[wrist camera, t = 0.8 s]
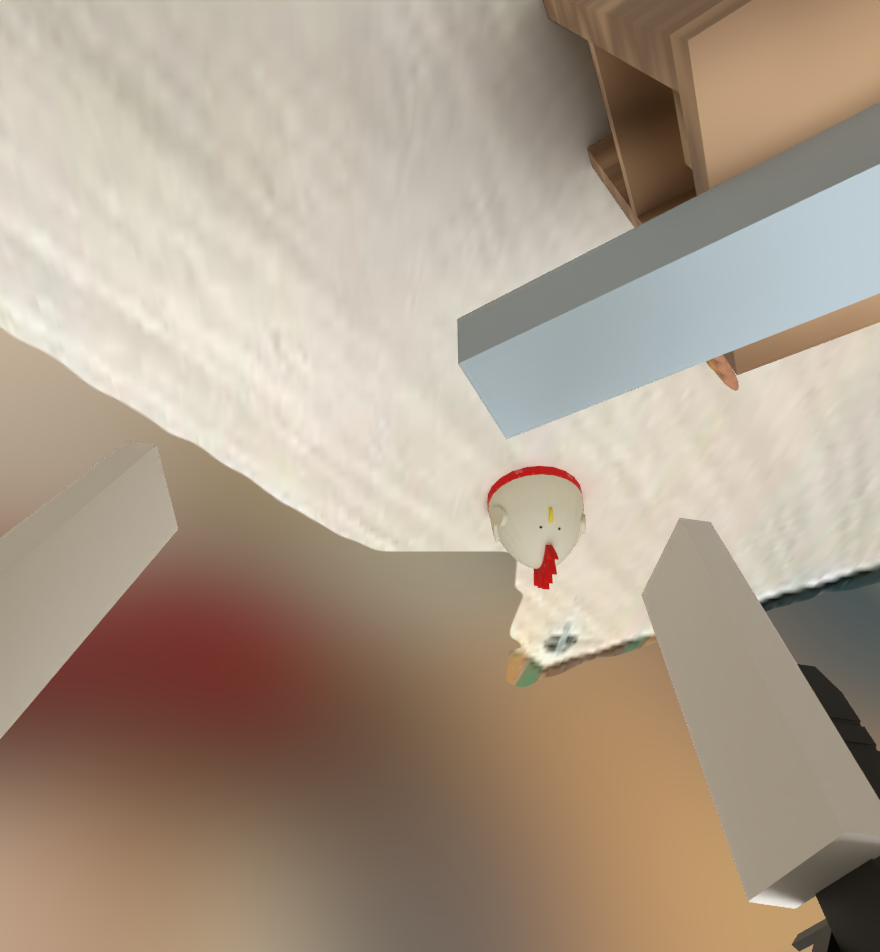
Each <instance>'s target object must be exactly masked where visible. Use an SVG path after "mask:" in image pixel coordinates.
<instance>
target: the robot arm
mask: <svg viewBox="0 0 880 952" xmlns="http://www.w3.org/2000/svg"><path fill="white" fill-rule="evenodd" d="M177 530H178V526H177V523H176V519H175V515H174V511H173V508H172V504H171V499H170V495H169V492H168V487H167V484H166V480H165V476H164V472H163V468H162V464H161V460H160V456H159V453H158V449H157V445H152V444H146V443H138V442H131V441H126V442H124V443H123V444H122V445H121V446H119V447H118V448H117V449H115V450H114V451H113V452H111V453H110V454H109V455H108V456H106V457H105V458H104V459H102V460H101V461H100V462H98V463H97V464H96V465H95V466H93V467H92V468H91V469H89V470H88V471H87V472H85V473H84V474H83V475H82V476H80V477H79V478H78V479H76V480H75V481H74V482H72V483H71V484H70V485H69V486H67V487H66V488H65V489H63V490H62V491H61V492H59V493H58V494H57V495H56V496H54V497H53V498H52V499H51V500H49V501H48V502H46V503H45V504H44V505H43V506H41V507H40V508H39V509H37V510H36V511H35V512H33V513H32V514H31V515H30V516H28V517H27V518H26V519H25V520H23V521H22V522H20V523H19V524H18V525H17V526H16V527H14V528H13V529H11V530H10V531H9V532H7V533H6V534H5V535H4V536H2V537H1V538H0V739H1V737H2V736H3V735H4V734H5V733H6V732H7V730H8V729H9V728H10V727H11V726H12V724H13V723H14V722H15V721H16V720H17V719H18V717H19V716H20V715H21V714H22V713H23V712H24V710H25V709H26V708H27V707H28V706H29V704H30V703H31V702H32V701H33V700H34V699H35V697H36V696H37V695H38V694H39V693H40V692H41V690H42V689H43V688H44V687H45V686H46V684H47V683H48V682H49V681H50V680H51V679H52V677H53V676H54V675H55V674H56V672H58V670H59V669H60V668H61V667H62V666H63V664H64V663H65V662H66V661H67V659H69V657H70V656H71V655H72V654H73V653H74V651H75V650H76V649H77V648H78V647H79V645H80V644H81V643H82V642H83V641H84V640H85V638H86V637H87V636H88V635H89V633H91V631H92V630H93V629H94V628H95V627H96V626H97V624H98V623H99V622H100V621H101V620H102V618H103V617H104V616H105V615H106V614H107V613H108V611H109V610H110V609H111V608H112V607H113V605H114V604H115V603H116V602H117V601H118V599H119V598H120V597H121V596H122V595H123V594H124V592H125V591H126V590H127V589H128V588H129V587H130V585H131V584H132V583H133V582H134V581H135V579H136V578H137V577H138V576H139V575H140V574H141V572H142V571H143V570H144V569H145V567H146V566H147V565H148V564H149V563H150V562H151V561H152V559H153V558H154V557H155V556H156V555H157V554H158V552H159V551H160V550H161V549H162V548H163V546H164V545H165V544H166V543H167V542H168V540H169V539H170V538H171V537H172V536H173V535H174V533H175V532H176V531H177ZM642 598H643V600H644V603H645V606H646V609H647V612H648V615H649V618H650V621H651V623H652V626H653V629H654V632H655V635H656V638H657V641H658V643H659V646H660V649H661V652H662V655H663V658H664V660H665V664H666V667H667V669H668V672H669V675H670V678H671V681H672V684H673V687H674V690H675V692H676V695H677V698H678V701H679V704H680V707H681V710H682V713H683V715H684V718H685V721H686V724H687V727H688V730H689V733H690V736H691V738H692V741H693V744H694V747H695V750H696V753H697V756H698V759H699V762H700V764H701V767H702V770H703V773H704V776H705V779H706V781H707V784H708V787H709V790H710V793H711V796H712V799H713V801H714V805H715V808H716V810H717V813H718V816H719V819H720V822H721V825H722V827H723V830H724V833H725V836H726V839H727V842H728V845H729V848H730V851H731V853H732V856H733V859H734V862H735V865H736V868H737V871H738V874H739V876H740V880H741V882H742V885H743V888H744V891H745V894H746V897H747V899H748V902H754V903H761V904H767V905H774V906H780V907H787V908H797V907H799V906H800V905H802V904H803V903H805V902H807V901H808V900H810V899H811V898H813V897H815V896H816V897H817V899H818V901H819V904H820V906H821V908H822V910H823V913H824V915H825V917H826V919H824V920H823V921H821V922H819V923H817V924H816V925H814V926H812V927H810V928H808V929H806V930H805V931H803V932H801V933H799V934H798V935H797V937H796V938H795V940H794V942H793V943H792V945H793V946H794V947H795V948H796V949H797V950H798V951H801V950H803V949H805V948H807V947H809V946H810V945H812V944H814V945H813V949H812V952H880V751H877V750H876V744H875V742H874V741H873V739H872V738H871V736H870V735H869V733H868V732H867V730H866V729H865V727H862V726H861V725H860V720H859V718H858V717H857V715H856V713H855V712H854V710H853V709H852V708H851V706H850V705H849V703H848V701H847V700H846V698H845V697H844V695H843V694H842V692H841V691H840V690H839V689H838V688H837V687H835V686H834V685H833V684H832V683H831V682H830V681H829V680H828V679H827V678H826V677H825V676H824V675H823V674H822V673H821V672H820V671H819V670H818V669H817V668H816V667H813V666H806V665H800V664H797V663H796V662H795V660H794V658H793V657H792V655H791V654H790V652H789V650H788V649H787V647H786V645H785V644H784V642H783V641H782V639H781V637H780V635H779V634H778V632H777V630H776V629H775V627H774V626H773V624H772V622H771V621H770V619H769V617H768V616H767V614H766V612H765V611H764V609H763V607H762V606H761V604H760V603H759V601H758V599H757V598H756V596H755V594H754V593H753V591H752V589H751V588H750V586H749V584H748V583H747V581H746V580H745V578H744V576H743V575H742V573H741V571H740V570H739V568H738V566H737V565H736V563H735V561H734V560H733V558H732V556H731V555H730V553H729V552H728V550H727V548H726V547H725V545H724V543H723V542H722V540H721V538H720V537H719V535H718V533H717V532H716V530H715V529H714V527H713V525H712V524H711V522H705V521H698V520H691V519H684V518H679V520H678V522H677V524H676V526H675V528H674V530H673V532H672V534H671V536H670V538H669V540H668V542H667V544H666V546H665V548H664V551H663V553H662V555H661V557H660V559H659V561H658V563H657V565H656V567H655V569H654V571H653V573H652V575H651V577H650V579H649V581H648V583H647V585H646V587H645V589H644V591H643V593H642Z"/></svg>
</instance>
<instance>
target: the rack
mask: <svg viewBox="0 0 880 952" xmlns="http://www.w3.org/2000/svg"><path fill="white" fill-rule="evenodd" d="M543 2H544V6H545V9H546V12H547V16H548V18H549V19H550V20H552V21H554V22H556V23H557V24H559V25H561V26H563V27H564V28H566V29H568V30H570V31H571V32H573V33H575V34H577V35H578V36H580V37H582V38H584V39H585V40H587V41H588V42H589V46H590V50H591V54H592V58H593V62H594V66H595V69H596V73H597V77H598V81H599V85H600V89H601V92H602V96H603V100H604V104H605V108H606V112H607V116H608V119H609V123H610V127H611V131H612V134H611V135H609V136H607V137H606V138H604V139H602V140H601V141H599V142H597V143H596V144H594V145H592V146H591V147H589V148H587V150H588V154H589V157H590V161H591V164H592V167H593V169H594V170H595V171H596V173H597V174H598V176H599V177H600V179H601V180H602V181H603V183H604V184H605V186H606V187H607V189H608V190H609V192H610V193H611V194H612V196H613V197H614V199H615V200H616V202H617V203H618V204H619V206H620V207H621V209H622V210H623V212H624V213H625V215H626V216H627V217H628V219H629V220H630V222H631V223H632V225H633V226H634V228H636V227H638V226H640V225H642V224H643V223H645V222H647V221H649V220H651V219H653V218H655V217H657V216H659V215H661V214H663V213H665V212H667V211H669V210H671V209H673V208H675V207H677V206H679V205H680V204H682V203H684V202H686V201H688V200H690V199H692V198H694V197H696V196H698V195H700V194H702V193H704V192H706V191H708V190H710V189H712V188H714V187H716V186H717V185H719V184H721V183H723V182H725V181H727V180H729V179H731V178H733V177H735V176H737V175H739V174H741V173H743V172H745V171H747V170H749V169H751V168H753V167H754V166H756V165H758V164H760V163H762V162H764V161H766V160H768V159H770V158H772V157H774V156H776V155H778V154H780V153H782V152H784V151H786V150H788V149H790V148H791V147H793V146H795V145H797V144H799V143H801V142H803V141H805V140H807V139H809V138H811V137H813V136H815V135H817V134H819V133H821V132H823V131H825V130H827V129H828V128H830V127H832V126H834V125H836V124H838V123H840V122H842V121H844V120H846V119H848V118H850V117H852V116H854V115H856V114H858V113H860V112H862V111H864V110H865V109H867V108H869V107H871V106H873V105H875V104H877V103H879V102H880V0H543ZM879 322H880V293H879V294H877V295H874V296H872V297H869V298H867V299H864V300H861V301H859V302H856V303H854V304H851V305H849V306H846V307H844V308H841V309H838V310H836V311H833V312H831V313H828V314H826V315H823V316H821V317H818V318H815V319H813V320H810V321H808V322H805V323H803V324H800V325H797V326H795V327H792V328H790V329H787V330H785V331H782V332H780V333H777V334H774V335H772V336H769V337H767V338H764V339H762V340H759V341H757V342H754V343H751V344H749V345H746V346H744V347H741V348H739V349H736V350H733V351H731V352H728V353H726V354H723V356H724V357H725V358H726V360H727V361H728V363H729V364H730V366H731V367H732V369H733V370H734V371H735V373H736V374H737V375H739V374H742V373H744V372H747V371H750V370H752V369H755V368H758V367H760V366H763V365H766V364H768V363H771V362H774V361H776V360H779V359H782V358H784V357H787V356H790V355H793V354H795V353H798V352H801V351H803V350H806V349H809V348H811V347H814V346H817V345H819V344H822V343H825V342H827V341H830V340H833V339H836V338H838V337H841V336H844V335H846V334H849V333H852V332H854V331H857V330H860V329H862V328H865V327H868V326H870V325H873V324H876V323H879Z"/></svg>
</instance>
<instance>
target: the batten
mask: <svg viewBox="0 0 880 952" xmlns="http://www.w3.org/2000/svg"><path fill="white" fill-rule="evenodd" d="M879 293H880V102H879V103H877V104H875V105H873V106H871V107H869V108H867V109H865V110H864V111H862V112H860V113H858V114H856V115H854V116H852V117H850V118H848V119H846V120H844V121H842V122H840V123H838V124H836V125H834V126H832V127H830V128H828V129H827V130H825V131H823V132H821V133H819V134H817V135H815V136H813V137H811V138H809V139H807V140H805V141H803V142H801V143H799V144H797V145H795V146H793V147H791V148H790V149H788V150H786V151H784V152H782V153H780V154H778V155H776V156H774V157H772V158H770V159H768V160H766V161H764V162H762V163H760V164H758V165H756V166H754V167H753V168H751V169H749V170H747V171H745V172H743V173H741V174H739V175H737V176H735V177H733V178H731V179H729V180H727V181H725V182H723V183H721V184H719V185H717V186H716V187H714V188H712V189H710V190H708V191H706V192H704V193H702V194H700V195H698V196H696V197H694V198H692V199H690V200H688V201H686V202H684V203H682V204H680V205H679V206H677V207H675V208H673V209H671V210H669V211H667V212H665V213H663V214H661V215H659V216H657V217H655V218H653V219H651V220H649V221H647V222H645V223H643V224H642V225H640V226H638V227H636V228H634V229H632V230H630V231H628V232H626V233H624V234H622V235H620V236H618V237H616V238H614V239H612V240H610V241H608V242H606V243H605V244H603V245H601V246H599V247H597V248H595V249H593V250H591V251H589V252H587V253H585V254H583V255H581V256H579V257H577V258H575V259H573V260H571V261H569V262H568V263H566V264H564V265H562V266H560V267H558V268H556V269H554V270H552V271H550V272H548V273H546V274H544V275H542V276H540V277H538V278H536V279H534V280H532V281H531V282H529V283H527V284H525V285H523V286H521V287H519V288H517V289H515V290H513V291H511V292H509V293H507V294H505V295H503V296H501V297H499V298H497V299H496V300H494V301H492V302H490V303H488V304H486V305H484V306H482V307H480V308H478V309H476V310H474V311H472V312H470V313H468V314H466V315H464V316H462V317H460V318H459V319H457V323H458V364H459V366H460V367H461V369H462V370H463V372H464V373H465V375H466V377H467V378H468V380H469V381H470V383H471V384H472V386H473V388H474V389H475V391H476V392H477V394H478V395H479V397H480V399H481V400H482V402H483V403H484V405H485V406H486V408H487V410H488V411H489V413H490V414H491V416H492V417H493V419H494V421H495V422H496V424H497V425H498V427H499V428H500V430H501V432H502V433H503V435H504V436H505V438H506V439H508V438H511V437H513V436H516V435H518V434H521V433H524V432H526V431H529V430H531V429H534V428H536V427H539V426H541V425H544V424H547V423H549V422H552V421H554V420H557V419H559V418H562V417H564V416H567V415H570V414H572V413H575V412H577V411H580V410H582V409H585V408H588V407H590V406H593V405H595V404H598V403H600V402H603V401H605V400H608V399H611V398H613V397H616V396H618V395H621V394H623V393H626V392H628V391H631V390H634V389H636V388H639V387H641V386H644V385H646V384H649V383H652V382H654V381H657V380H659V379H662V378H664V377H667V376H669V375H672V374H675V373H677V372H680V371H682V370H685V369H687V368H690V367H692V366H695V365H698V364H700V363H703V362H705V361H708V360H710V359H713V358H716V357H718V356H721V355H723V354H726V353H728V352H731V351H733V350H736V349H739V348H741V347H744V346H746V345H749V344H751V343H754V342H757V341H759V340H762V339H764V338H767V337H769V336H772V335H774V334H777V333H780V332H782V331H785V330H787V329H790V328H792V327H795V326H797V325H800V324H803V323H805V322H808V321H810V320H813V319H815V318H818V317H821V316H823V315H826V314H828V313H831V312H833V311H836V310H838V309H841V308H844V307H846V306H849V305H851V304H854V303H856V302H859V301H861V300H864V299H867V298H869V297H872V296H874V295H877V294H879Z"/></svg>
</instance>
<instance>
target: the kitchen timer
mask: <svg viewBox="0 0 880 952" xmlns="http://www.w3.org/2000/svg"><path fill="white" fill-rule="evenodd" d="M583 511H584V505H583V498H582V492H581V488H580V485H579V483H578V482H577V480H576V479H575V478H574V477H573V476H572V475H570V474H569V473H567V472H566V471H563V470H560V469H557V468H554V467H545V466H535V467H525V468H522V469H519V470H516V471H512V472H510V473H509V474H507V475H505V476H503V477H501V478H500V479H499V480H498V481H497V482H496V483H495V484H494V485H493V486H492V488H491V490H490V492H489V494H488V512H489V516H490V519H491V525H492V530H493V534H494V537H495V541H496V542H497V541H500V542H501V543H502V545H503V546H504V548H505V549H506V550H507V551H508V552H509V553H510V554H511V555H512V556H513V557H514V558H515V559H516V560H517V561H519V562H520V563H522V564H524V565H526V566H528V567H530V568H534V586H538V588H542V589H549V583H553V582H552V574H557V572H556V565H558V564H559V563H561V562H562V561H563V560H564V559H565V558H566V557H567V556H568V555H569V553H570V552H571V551H572V549H573V548H574V547H575V545H576V543H577V541H578V539H579V537H580V535H581V533H585V530H586V522H585V514H583Z"/></svg>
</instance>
